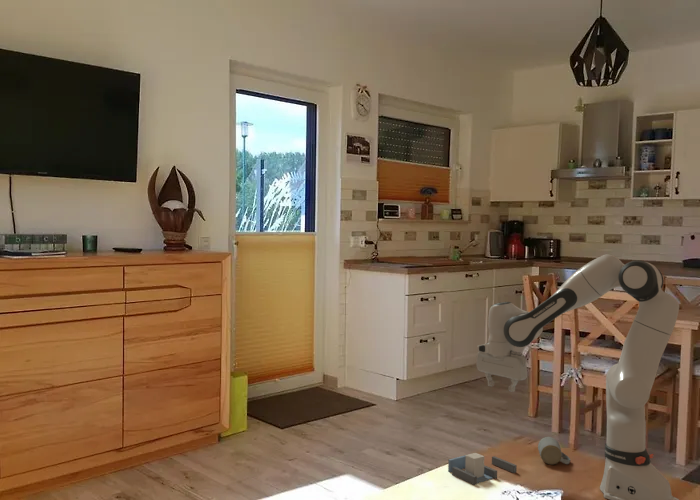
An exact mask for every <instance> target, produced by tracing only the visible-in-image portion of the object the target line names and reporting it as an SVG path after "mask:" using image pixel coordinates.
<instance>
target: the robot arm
mask: <svg viewBox="0 0 700 500" xmlns="http://www.w3.org/2000/svg"><path fill="white" fill-rule="evenodd" d="M663 276H664V275H663V274H662V273H661V271H660V269H658V268H657V267H656V266H655V265H654V264H652V263H650V262H648V261H644V260H632V261H629V262H627V263H625V264H624V262H622V260H620V259H619V258H618V257H616V256H615V255H613V254H608V253H606V254H602V255H600V256H598V257H597V258H595V259H593V260H591V261H589V262H588V263H586V264H584V265H583V266H582V267H580V268H578V269H577V270H576V271H575V272H573V274H571V275H570V276H569V277H568V278H567V279H566V280H565V281H564V282H563V283H562V284H561V285H560V287H559V288H558V289H556V291H555V292H554V293H553V294H552V295H551V296H549V297H548V299H545V300H544V301H542V302H541V303H540V304H538V306H536V307H534V308H533V309H532V310H530V311H526V310H524V309H522V308H520V307H518V306H516V305H515V304H514V303H513V302H511V301H502V302H501V301H500V302H497V303H494V304H492V305H491V307H490V308H489V310H488V311H489V312H488V319H487V320H488V321H487V322H488V325H487V327H488V332H489V333H488V334H489V336H488V339H487V341H488V342H486V343H484V344H483V343H482V344H478V345H477V346H476V350H477V353H476V363H475V364H476V369H477V371H478V372H481V373H484V376H485V378H486V380H487V386H488V387H494V386H495V380H494V379H493V377H492V376H493V375H494V376H498V377H503V378H507V379H509V380H510V382H511V384H510V385H508V391H509V392H512V393H514V392H516V386H517V385H518V383H519V381H525V380H526V379H527V378H528V367H527V359H526V356H525V355H524V353H523V352H520V351H515V347H516V348H524V347H527V346H528V345H530V344H531V343H532V342H533V341H536V340H537V338H539V337H540V336H541V335H542V333H543V331H544V327H545V326H547V325H548V324H549V323H550V322H552V321H554V320H555V319H557V318H559V316H561V315H564V314H565V313H569V312H570V311H573V310H575V309H576V310H577V309H578V308H581V307H585V306H586V305H589V304H590V303H594V302H595V301H596V300H598V299H600V298H601V297H603V296H604V295H606V294H607V293H608V292H609V291H612V290H614V289H616V288H622V290H623V291H624V292H625V293H626V294H628V295H629V296H630V297H632V298H633V299H635V300H636V301H637V302H638V309H637V312H636V314H635V317H634V320H633V321H632V323H631V326H630V328H629V330H628V332H627V334H626V337H625V340H624V342H623V346H622V350H621V354H620V357H619V358H618V359H619V360H618V362H617V363H615V364H613V365H612V366H611V367H609V369H608V370H607V372H606V375H605V402H606V443H604V459H605V463H604V469H603V475H602V479H601V482H600V486H599V489H600V492H602V493H603V498H604V499H608V500H680V499H679V498H677V497H675V496H674V495H672V489H671V484H670V482H669V480H668V479H667V478H666V477H665V476H664V475H663V474H662V473H661V472H660V471H659V470H658V469H657V468H656V467H655V466H654V465H653V464H652V461H651V459H653V458H654V453H651V454H649V452H648V450H647V448H646V431H647V430H646V428H647V426H646V424H647V422H646V421H647V420H646V413H645V412H646V411H645V405H646V404H647V402H648V401H649V399H650V395H651V391H652V388H653V386H654V383H655V379H656V376H657V373H658V369H659V365H660V362H661V360H662V356H663V355H664V352H665V349H666V347H667V345H668V343H669V341H670V338H671V336H672V335H673V334H672V333H673V331H674V328H675V326H676V323H677V319H678V315H679V312H680V304H679V301H678V300H677V299H676V298H675V297H674V296H673V295H671V294H670V293H667V292H665V291H664V290H662V288H663V286H664V277H663Z"/></svg>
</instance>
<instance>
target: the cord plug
mask: <svg viewBox="0 0 700 500" xmlns="http://www.w3.org/2000/svg"><path fill="white" fill-rule="evenodd" d="M465 455H466V464H465V468H464V471H466V472H468V473H470V474H472V475H475V476H477V478H479V477H482V476H484V465H485V456H484V455H482V454H480V453H477V452H473V453H469V454H465Z"/></svg>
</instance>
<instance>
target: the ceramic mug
mask: <svg viewBox="0 0 700 500" xmlns="http://www.w3.org/2000/svg"><path fill="white" fill-rule="evenodd" d="M537 449H538V453H539V456H540V459H541V460H542V461H543V462H544V463H545V464H547V465H551V466H552V465H557V464H558V463H559V462H560V463H562V464H565V465H570V463H571V461H572V460H571V458H570V457H569V456H568V455H567V454H566V453H564V452H562V449H561V444H560V443H559V441H558V440H557V439H556V438H554V437H552V436H545V437H542V438H541V439H540V440H539V442H538V445H537Z"/></svg>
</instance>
